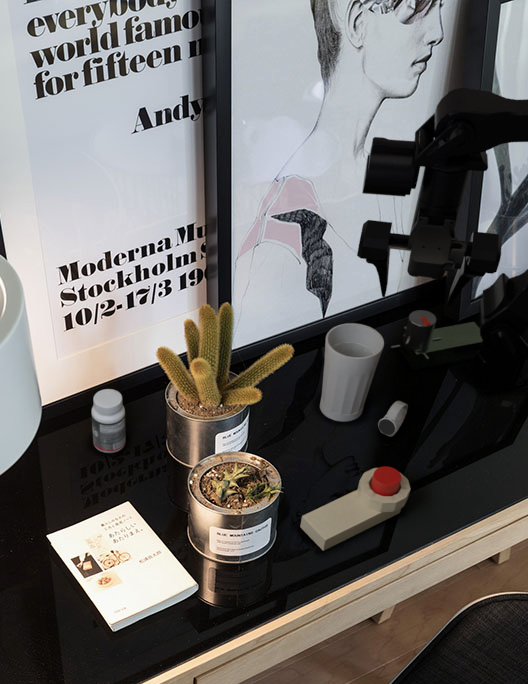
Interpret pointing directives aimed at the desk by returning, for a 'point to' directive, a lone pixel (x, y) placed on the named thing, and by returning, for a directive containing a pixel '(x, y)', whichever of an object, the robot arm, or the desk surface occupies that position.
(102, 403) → the pill bottle
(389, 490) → the power button
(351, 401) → the cup
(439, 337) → the dial panel
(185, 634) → the desk surface
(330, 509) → the button base
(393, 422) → the grey short cylinder
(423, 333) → the dial
